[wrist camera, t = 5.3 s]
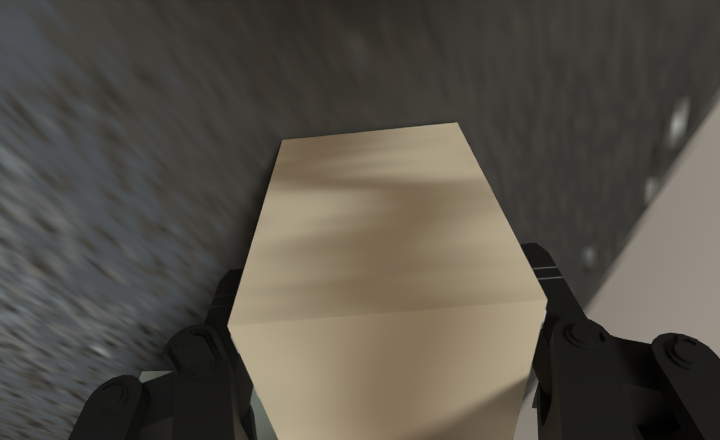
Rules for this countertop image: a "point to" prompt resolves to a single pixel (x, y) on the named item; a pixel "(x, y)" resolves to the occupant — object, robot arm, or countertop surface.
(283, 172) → the maple block
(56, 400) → the countertop surface
